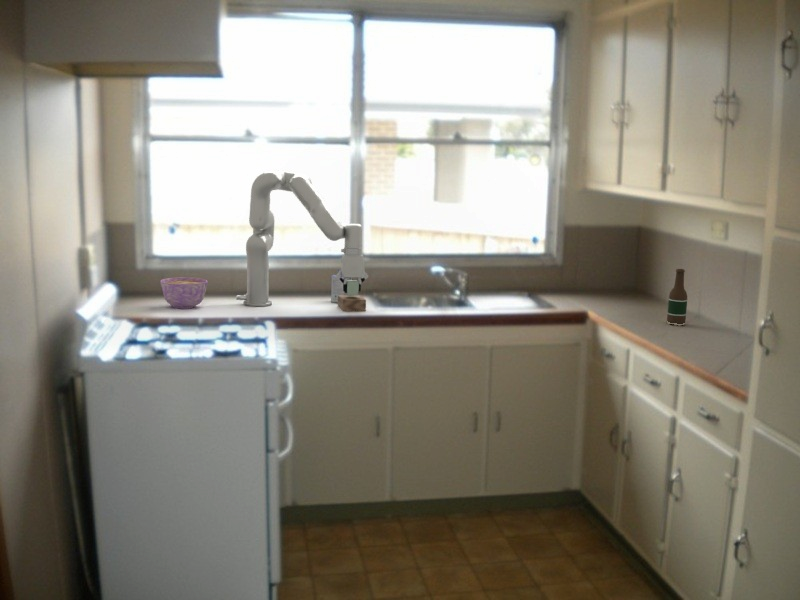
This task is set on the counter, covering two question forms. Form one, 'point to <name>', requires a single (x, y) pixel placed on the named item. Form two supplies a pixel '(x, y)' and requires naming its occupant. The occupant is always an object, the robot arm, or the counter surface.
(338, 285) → the ink cartridge box
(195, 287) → the bowl of food
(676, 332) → the counter surface
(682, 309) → the beer bottle
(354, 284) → the pale green block
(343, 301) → the brown wooden block
